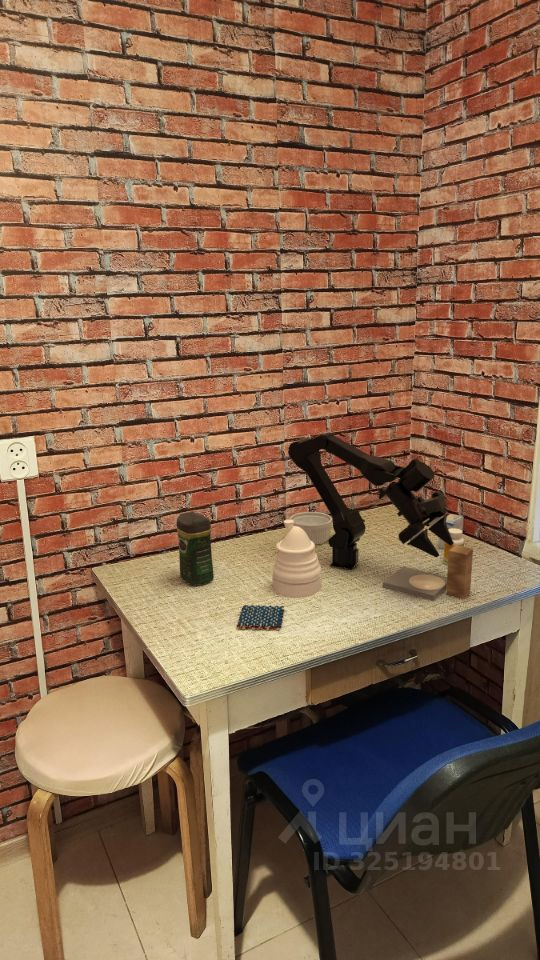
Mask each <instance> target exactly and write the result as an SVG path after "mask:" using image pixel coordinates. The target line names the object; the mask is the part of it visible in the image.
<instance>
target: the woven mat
mask: <svg viewBox="0 0 540 960" xmlns="http://www.w3.org/2000/svg"><path fill="white" fill-rule="evenodd" d="M240 610H241V611H240V614H239V617H238V621H237V624H236V628H237V631H241V629H242V630H245V631H246V630H247V632H248V631H251V630H252V631H255V629H256V631H260V629H261V630H262V631H265V630H266V631H271V632H273V631H274V630H275V629H276V631H277V632H279V631H280V630H281V629H282V628H283V626H282V625H283V621H284V614H285V606H284V605H281V606H280V605H278V604H276V605H274V606H272V605H271V604H269V605H266V604H265V605H260V604H257V605H254V604H249V605H248V604H245V605H243V606H242V607H241V609H240Z"/></svg>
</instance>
